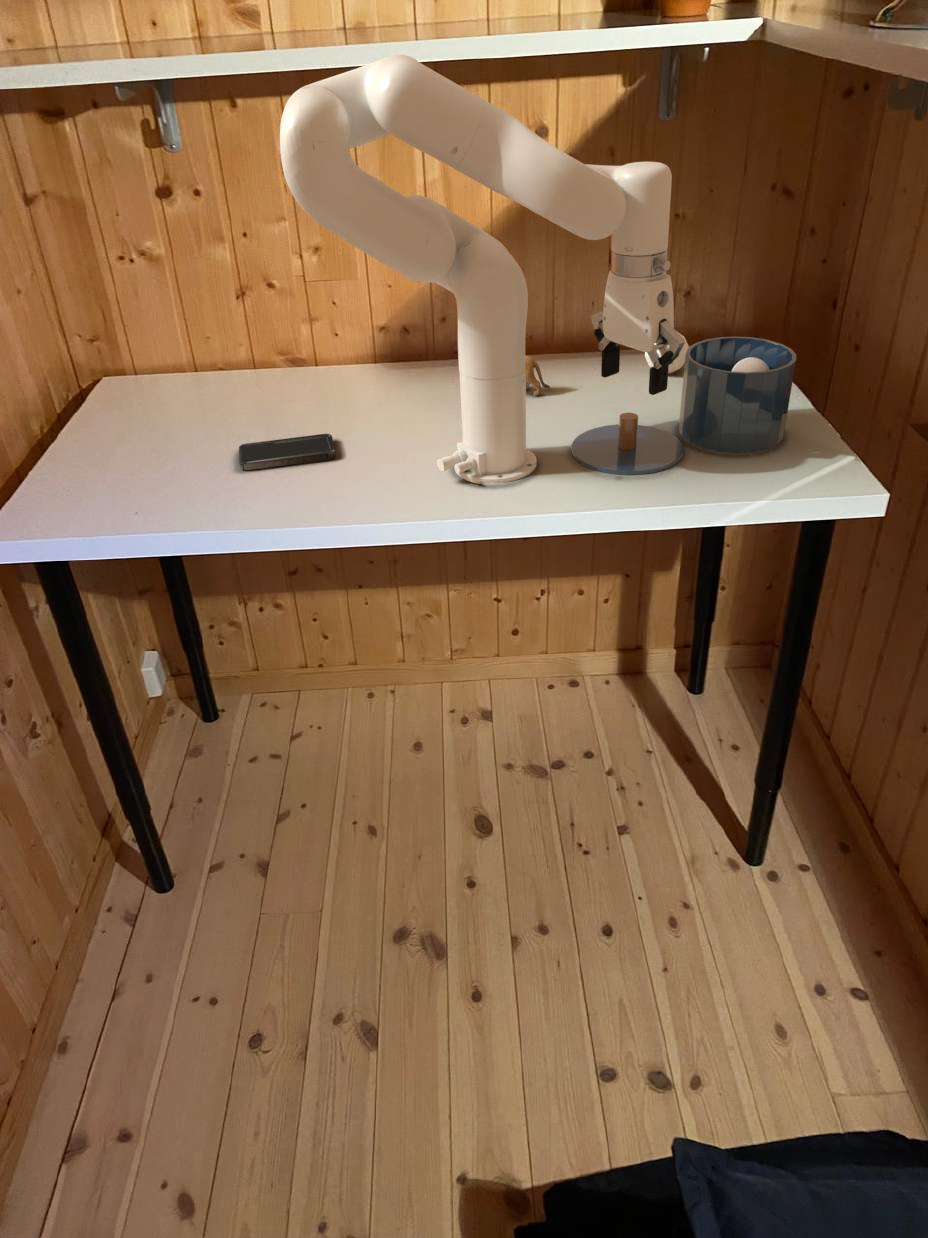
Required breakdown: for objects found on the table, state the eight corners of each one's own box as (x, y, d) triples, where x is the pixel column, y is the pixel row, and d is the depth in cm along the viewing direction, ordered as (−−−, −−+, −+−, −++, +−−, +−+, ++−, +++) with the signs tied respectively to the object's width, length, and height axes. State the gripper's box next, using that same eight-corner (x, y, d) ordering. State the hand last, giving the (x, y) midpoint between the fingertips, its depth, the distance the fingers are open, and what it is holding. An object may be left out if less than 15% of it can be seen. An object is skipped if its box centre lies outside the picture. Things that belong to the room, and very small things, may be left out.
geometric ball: (653, 387, 170) (629, 354, 167) (673, 360, 174) (650, 327, 171) (684, 377, 164) (659, 342, 161) (704, 348, 167) (680, 314, 164)
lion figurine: (468, 400, 162) (466, 350, 157) (467, 389, 167) (465, 340, 162) (551, 395, 163) (552, 345, 157) (548, 384, 167) (548, 335, 162)
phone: (335, 452, 145) (238, 464, 143) (336, 458, 145) (240, 471, 143) (331, 432, 151) (238, 443, 149) (332, 438, 152) (240, 450, 150)
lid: (626, 489, 132) (629, 450, 129) (548, 452, 144) (549, 414, 140) (706, 455, 140) (710, 416, 137) (626, 422, 152) (628, 386, 148)
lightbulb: (745, 432, 149) (770, 365, 146) (755, 433, 143) (781, 363, 140) (709, 420, 148) (734, 353, 146) (717, 421, 143) (743, 350, 140)
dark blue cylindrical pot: (737, 465, 137) (748, 381, 129) (657, 433, 148) (664, 353, 140) (804, 435, 144) (818, 354, 137) (724, 406, 155) (733, 329, 148)
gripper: (706, 268, 122) (695, 391, 131) (613, 247, 133) (610, 362, 143) (666, 280, 118) (659, 406, 128) (575, 258, 130) (574, 375, 140)
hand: (633, 383), depth 136 cm, fingers open, 9 cm apart
